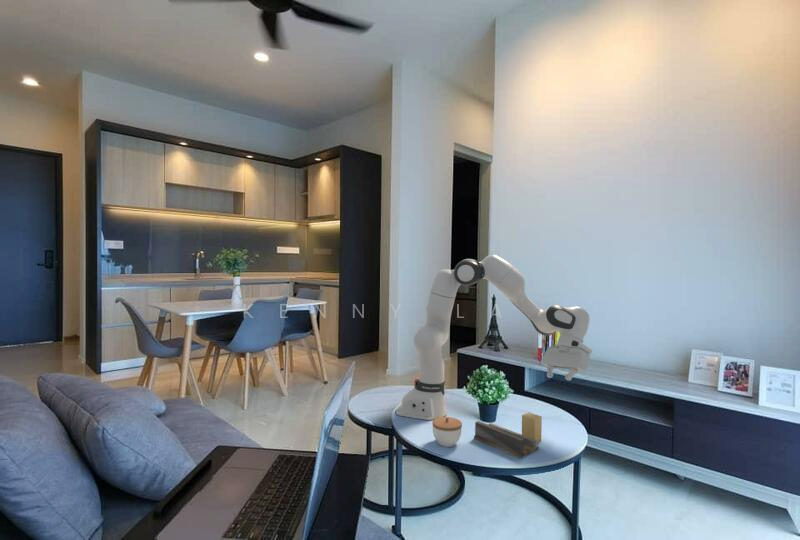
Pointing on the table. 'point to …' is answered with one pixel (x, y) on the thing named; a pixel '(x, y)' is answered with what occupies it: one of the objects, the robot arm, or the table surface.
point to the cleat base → (504, 439)
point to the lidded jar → (447, 430)
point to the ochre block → (532, 426)
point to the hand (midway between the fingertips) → (558, 378)
